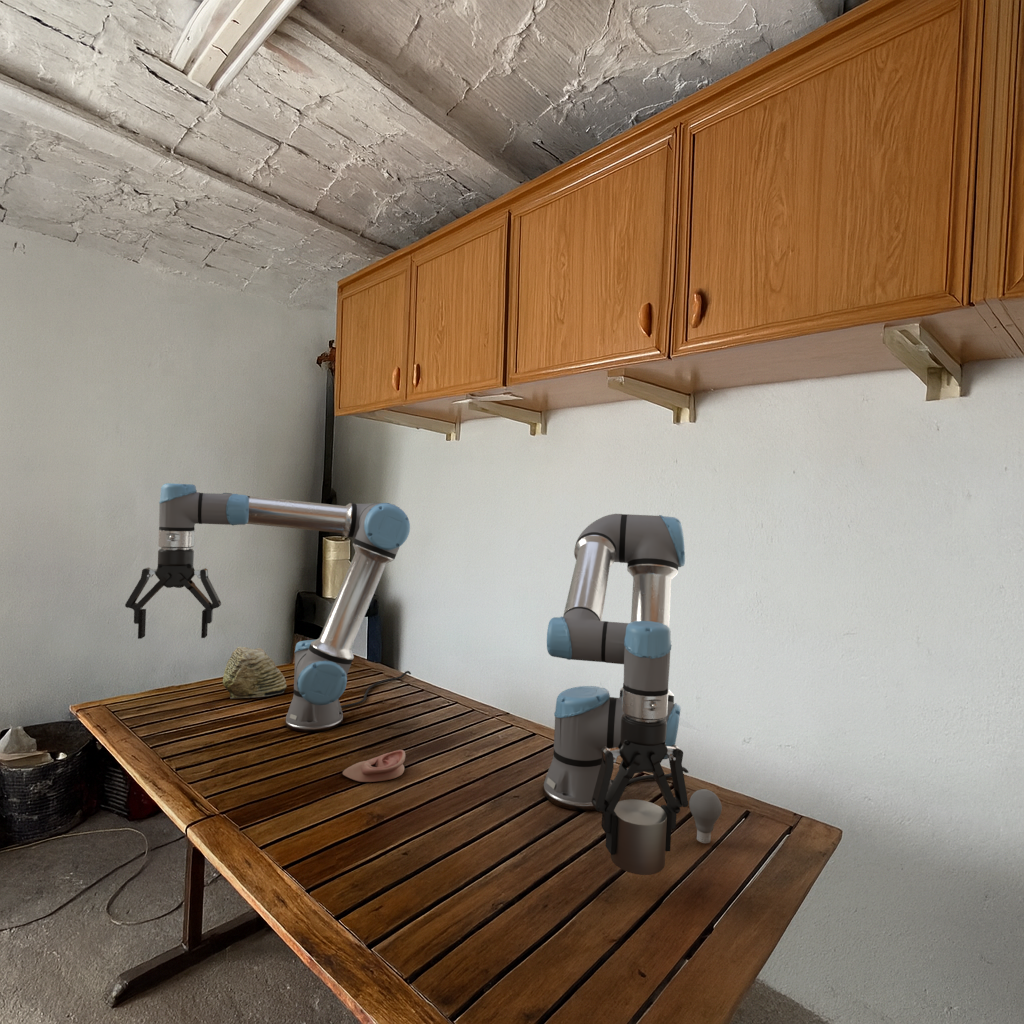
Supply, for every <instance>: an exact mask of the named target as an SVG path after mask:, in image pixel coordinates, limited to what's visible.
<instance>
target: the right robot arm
mask: <svg viewBox="0 0 1024 1024" xmlns="http://www.w3.org/2000/svg"><path fill="white" fill-rule="evenodd" d="M685 549H686V548H685V538H684V530H683V524H682V522H681V521H680V519H679V518H677V517H675V516H665V515H662V514H659V515H653V514H652V515H649V514H624V513H612V514H611V513H610V514H607V515H604V516H602V517H600V518H598V519H596V520H594V521H593V522H591V523H590V524H588V525H587V527H585V528H584V529H583V530H582V531H581V533H580V534H579V536H578V537H577V540H576V541H575V545H574V550H573V552H574V553H573V555H574V559H575V564H574V569H573V573H572V577H571V581H570V586H569V590H568V593H567V597H566V602H565V606H564V611H563V614H562V616H559V617H558V616H557V617H555V616H554V617H551V618H550V620H549V621H548V625H547V632H546V650H547V653H548V655H549V656H550V657H553V658H558V659H564V660H565V659H566V660H568V661H571V660H572V661H584V662H596V663H597V662H598V663H606V664H616V665H623V683H622V687H621V688H620V689H619V697H613V696H611V693H610V691H609V690H608V689H607V688H605V687H601V686H597V685H582V686H581V685H580V686H574V687H570V688H566V689H565V690H563V691H561V692H560V693H559V694H558V695H557V697H556V703H555V710H554V713H553V714H554V733H553V734H554V735H553V757H552V759H551V762H550V765H549V768H548V770H547V773H546V775H545V778H544V781H543V796H544V797H545V798H546V800H548V801H549V802H550V803H552V804H554V805H555V806H556V807H557V806H558V807H559V808H563V809H567V810H571V811H579V812H592V811H596V812H601V824H600V826H601V828H602V830H603V832H604V834H605V847H606V849H607V851H608V852H609V854H610V856H611V855H615V851H616V831H617V814H616V813H615V812H614V809H615V807H616V805H617V803H618V802H619V801H620V800H621V798H622V795H623V794H624V791H625V789H626V788H627V785H630V784H634V783H637V782H642V781H647V780H655V782H656V784H657V786H658V789H659V791H660V793H661V796H662V798H663V800H664V802H665V804H661V805H660V807H661V808H662V809H663V810H664V811H665V812H666V814H667V828H666V849H665V852H671V843H672V830H675V829H676V827H677V815H678V814H679V813H680V812H681V808H682V807H683V808H687V807H688V806H689V798H688V792H687V786H686V780H685V776H684V775H685V774H688V773H689V769H687V768H686V767H684V766H683V758H684V751H683V750H682V749H681V748H680V747H679V746H677V745H676V741H677V737H678V731H679V725H680V715H681V709H682V708H681V707H682V706H681V705H680V704H678V703H677V702H675V694H674V693H673V692H672V691H671V690H670V688H669V680H670V678H669V677H670V668H671V667H670V666H671V651H672V646H673V645H672V634H671V632H672V631H671V628H670V622H671V621H670V620H671V619H670V618H671V617H670V616H671V593H672V580H673V579H674V578H675V577H676V576H677V575H678V574H679V568H682V567H684V566H685V563H686V552H685ZM614 563H619V564H627V565H626V566H627V568H626V570H627V572H628V573H629V574H630V575H631V577H632V579H633V580H632V594H631V610H630V611H631V612H630V613H631V614H630V622H616V621H605V620H603V615H604V608H605V600H606V596H607V595H606V594H607V588H608V580H609V573H610V567H612V566H613V564H614ZM619 756H620V758H621V759H622V760H621V762H620V763H619V766H618V771H617V773H616V774H615V777H614V778H613V779H612V775H613V771H614V765H615V763H617V759H618V757H619ZM663 760H668V762H669V763H668V764H669V769H670V773H666V774H665V772H664V769H663V767H662V765H661V763H662V762H663ZM644 772H645V773H648V774H647V775H641V776H637V777H634V776H635V774H641V773H644ZM651 773H652V774H651ZM684 773H685V774H684ZM667 779H671V780H672V786H673V791H674V793H673V791H672V789H671V786H670V785H669V782H668V780H667Z"/></svg>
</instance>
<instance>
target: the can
mask: <svg viewBox="0 0 1024 1024" xmlns="http://www.w3.org/2000/svg"><path fill="white" fill-rule="evenodd" d="M614 812H615V813H616V814H617V831H616V851H615V855H611V854H610V859H611V861H612V863H613V864H614V865H615V866H616V867H617V868H619V869H620V870H622V871H624V872H626V873H630V874H634V875H638V876H639V875H640V876H651V875H655V874H658V873H661V871H663V869H664V868H665V866H666V851H665V849H666V828H667V814H666V812H665V811H664V810H663V809H662V808H661V806H659V805H658V804H656V803H653V802H651V801H647V800H643V799H632V798H631V799H623V800H619V801H618V803H617V805H616V807H615V809H614Z"/></svg>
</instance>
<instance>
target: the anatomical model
mask: <svg viewBox="0 0 1024 1024" xmlns="http://www.w3.org/2000/svg"><path fill="white" fill-rule="evenodd" d="M405 760H406V751H405V750H403V749H397V750H393V751H390V752H387V753H383V754H381V755H378V756H375V757H373V758H370V759H367V760H363V761H359V762H356V763H354V764H352V765H350V766H348V767H346V768H345V769H344V770H343V771H342V776H344V777H346V778H348V779H349V780H353V781H355V782H359V783H372V782H373V783H375V782H382V781H388V780H393V779H396V778H398V777H400V776H402V775H403V773H404V772H405V765H404V763H405Z"/></svg>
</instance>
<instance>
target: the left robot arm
mask: <svg viewBox="0 0 1024 1024" xmlns="http://www.w3.org/2000/svg"><path fill="white" fill-rule="evenodd" d="M158 503H159V507H158V508H159V509H158V510H159V512H158V515H159V516H158V524H159V525H158V543H157V544H158V545H157V546H158V547H159V548H160V549H159V550H157V567H156V569H155V568H150V567H149V566H148V567H145V568H142V569H141V574H140V578H139V581H138V582H137V584H136V585H135V587H134V589H133V590H132V592H131V594H130V596H129V597H128V599H127V600H126V602H125V604H124V607H125V608H127V609H131V610H133V623H134V625H138V626H137V639H138V640H141V639H143V638H145V636H146V625H147V624H146V623H147V622H146V621H147V620H146V619H147V608H143V607H144V606H145V605H146V604H147V603H148V602H150V600H151V599H152V598H153V597H154V596H155V595H156V594H157V593H159V591H160V590H161V589H162V588H163V587H165V588H166V589H170V588H171V589H172V588H176V589H182V588H183V587H185V589H186V590H187V591H189V592H190V593H191V595H192V596H194V598H195V599H196V600H197V601H198V603H200V604H201V606H202V607H203V608H204V609H203V610H202V611H201V631H200V633H201V635H200V636H201V637H200V638H201V639H205V638H207V637H208V625H209V624H211V623H212V622H213V617H214V616H213V614H214V613H213V612H214V610H215V609H217V608H219V607H221V605H222V602H221V600H220V598H219V595H218V594H217V592H216V590H215V588H214V585H213V583H212V582H211V580H210V577H209V570H208V568H207V567H205V568H202V569H195V567H194V556H195V554H194V553H195V551H194V549H193V548H194V546H195V530H196V529H195V525H196V524H197V525H222V526H223V525H224V526H225V525H226V526H227V525H229V526H242V525H243V526H245V525H255V526H266V527H274V528H275V527H276V528H285V529H286V528H287V529H296V530H307V531H318V532H327V533H339V534H342V535H344V536H345V538H354V539H353V542H352V546H353V549H354V552H355V553H354V555H353V557H352V559H351V563H350V564H349V567H348V570H347V571H346V574H345V576H344V579H343V581H342V583H341V586H340V588H339V591H338V592H337V595H336V597H335V600H334V603H333V605H332V607H331V610H330V611H329V612H330V613H329V615H328V616H327V619H326V621H325V623H324V626H323V628H322V631H321V633H320V635H319V637H318V638H317V639H307V640H300V641H298V642H297V643H295V648H294V649H295V650H294V672H293V673H294V674H293V675H294V676H293V678H294V679H293V695H292V696H293V697H292V699H291V702H290V704H289V708H288V711H287V713H286V715H285V726H286V728H287V729H289V730H291V731H294V732H295V731H296V732H301V733H316V732H325V731H329V730H332V729H335V728H337V727H339V726H340V725H342V723H343V722H344V714H343V709H345V708H349V707H353V706H357V705H360V704H362V703H364V702H365V701H366V700H367V697H368V694H369V692H370V690H371V689H372V688H374V687H377V685H381V684H383V683H388V682H392V681H396V680H400V679H402V678H403V677H405V676H406V675H407V674H408V675H412V672H411V671H409V670H406V671H404V672H403V673H402V674H401V675H399V676H396V677H392V678H387V679H383V680H380V681H377V682H374V683H373V684H371V685H370V686H369V687H367V689H366V691H365V693H364V695H363V698H362V699H361V700H359V701H355V702H352V703H347V704H341V702H340V698H341V697H342V695H343V694H344V692H345V691H346V689H347V683H348V673H349V671H350V668H351V666H352V663H353V660H354V658H355V655H354V654H353V651H352V648H353V645H354V643H355V641H356V638H357V636H358V633H359V631H360V629H361V627H362V623H363V622H364V619H365V616H366V614H367V612H368V609H369V607H370V605H371V602H372V599H373V597H374V594H375V593H376V590H377V587H378V585H379V582H380V580H381V578H382V575H383V573H384V570H385V568H386V566H387V564H389V563H391V562H393V561H395V559H396V556H397V554H398V552H399V549H400V547H401V546H402V545H404V544H405V542H406V541H407V540H408V538H409V535H410V531H411V523H410V520H409V517H408V514H406V512H405V511H404V510H403V509H402V508H400V507H399V506H397V505H396V504H393V503H390V502H373V503H355V502H354V503H353V502H349V503H348V504H346V505H340V504H339V505H338V504H329V503H321V502H312V501H311V502H309V501H301V500H292V499H281V498H273V497H264V496H254V495H246V494H239V493H231V492H223V493H213V492H211V493H210V492H198V490H197V486H196V485H195V484H191V483H171V482H170V483H169V482H168V483H164V484H162V485H161V487H160V495H159V502H158ZM154 575H155V577H156V578H157V579H158V581H157V582H156V583H155V584H154V585H153V587H151V588H150V590H148V592H147V593H145V594H144V596H143V597H142V598H141V599H140V600H139V601H138V602H137V600H138V599H139V597H140V595H141V594H142V592H143V590H144V589H145V587H146V585H147V583H148V582H149V580H150V579H151V578H153V576H154ZM195 576H197V578H198V579H200V582H201V583H202V585H203V587H204V589H205V592H206V593H207V595H208V598H207V597H206V595H205V594H204V592H202V591H201V590H200V589H199V588H198V586H197V585H196V583H195V582H194V580H192V579H193V578H194V577H195ZM209 599H210V600H209Z"/></svg>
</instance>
